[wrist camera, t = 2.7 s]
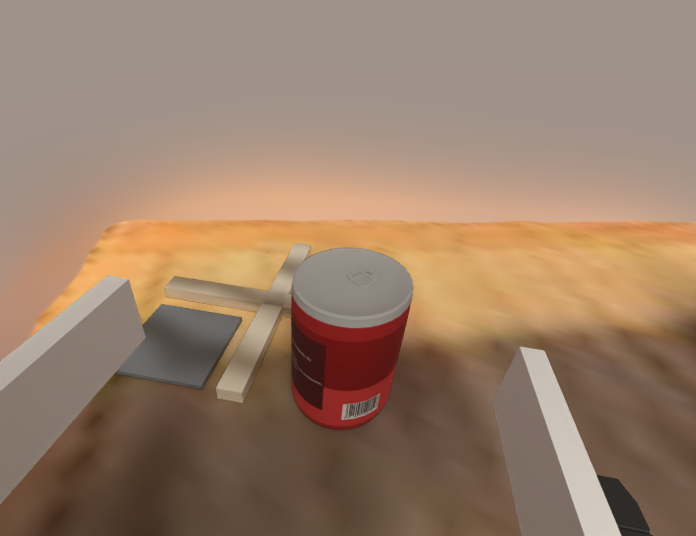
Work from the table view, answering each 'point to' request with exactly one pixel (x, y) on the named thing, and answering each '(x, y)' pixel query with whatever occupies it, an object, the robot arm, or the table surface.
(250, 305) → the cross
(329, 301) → the canned food
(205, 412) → the table surface
